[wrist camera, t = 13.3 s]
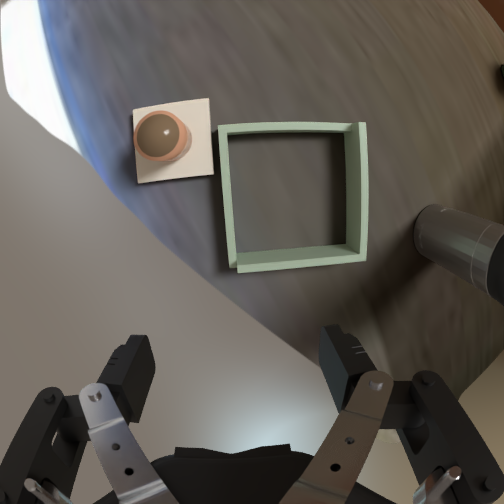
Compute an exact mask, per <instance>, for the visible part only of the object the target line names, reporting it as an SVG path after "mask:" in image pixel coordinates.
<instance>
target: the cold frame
mask: <svg viewBox="0 0 504 504" xmlns="http://www.w3.org/2000/svg"><path fill="white" fill-rule="evenodd" d="M279 132H325V133H344V142H345V162H346V244H338V245H326V246H314V247H302V248H290V249H279V250H267V251H255V252H243V253H236V246H235V234H234V222H233V210H232V197H231V184H230V170H229V156H228V142H227V135H237V134H253V133H279ZM218 134H219V149H220V163H221V176H222V189H223V201H224V213H225V225H226V236H227V247H228V257H229V268H237V270H238V273H246V272H257V271H268V270H279V269H290V268H300V267H310V266H320V265H330V264H340V263H349V262H359V261H366V254H367V234H368V154H367V135H366V123H365V122H357V123H353V124H347V123H327V122H264V123H243V124H229V125H218Z"/></svg>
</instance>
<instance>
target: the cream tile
mask: <svg viewBox="0 0 504 504" xmlns="http://www.w3.org/2000/svg"><path fill="white" fill-rule="evenodd" d="M160 110H162V111H168V112H170V113H172V114H174V115H175V116H176V117H178V118H179V119H180V120H181V121H182V122H183V123H184V124H185V125H186V126H187V127H188V128H189V129H190V131H191V134H192V145H191V148H190V150H189V151H188V153H187V154H186V155H185V156H184V157H182V158H181V159H179V160H176V161H152V160H148V159H146V158H144V157H142V156H141V155H140V154H139V153H138V151H137V150H136V148H135V156H136V168H137V179H138V183H145V182H152V181H159V180H166V179H174V178H183V177H192V176H201V175H211V174H214V163H213V149H212V135H211V119H210V102H209V98H206V99H197V100H188V101H181V102H174V103H168V104H161V105H156V106H150V107H145V108H140V109H135V110H133V123H134V131H135V128H136V126H137V124H138V122H139V121H140V120H141V119H142V118H143V117H144V116H145V115H147V114H149V113H151V112H154V111H160Z"/></svg>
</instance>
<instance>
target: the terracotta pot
mask: <svg viewBox="0 0 504 504" xmlns="http://www.w3.org/2000/svg"><path fill="white" fill-rule="evenodd" d="M133 140H134V145H135V148H136V150H137V151H138V153H139V154H140V155H141V156H142V157H144V158H146V159H148V160H152V161H176V160H179V159H181V158H182V157H184V156H185V155H186V154H187V153H188V151H189V150H190V148H191V145H192V134H191V131H190V129H189V128H188V127H187V126H186V125H185V124H184V123H183V122H182V121H181V120H180V119H179V118H178V117H176V116H175V115H174V114H172V113H170V112H168V111H162V110H160V111H154V112H151V113H149V114H147V115H145V116H144V117H143V118H142V119H141V120H140V121H139V122H138V124H137V126H136V128H135V131H134V136H133Z"/></svg>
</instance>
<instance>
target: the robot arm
mask: <svg viewBox="0 0 504 504" xmlns="http://www.w3.org/2000/svg"><path fill="white" fill-rule="evenodd" d="M414 244H415V246H416V249H417V250H418V252H419V253H420V254H421V255H423V256H425V257H426V258H428V259H430V260H432V261H433V262H435V263H437V264H438V265H440V266H442V267H444V268H445V269H447V270H449V271H450V272H452V273H454V274H455V275H457V276H459V277H460V278H462V279H464V280H465V281H467V282H468V283H470V284H472V285H473V286H475V287H476V288H478V289H480V290H481V291H483V292H485V293H486V294H488V295H489V296H491V297H492V298H494V299H495V300H497V301H498V302H500V303H501V304H502V305H503V306H504V225H501V224H498V223H495V222H492V221H490V220H487V219H484V218H481V217H478V216H474V215H471V214H468V213H465V212H462V211H458V210H455V209H452V208H448V207H445V206H441V205H438V204H433V205H429V206H428V207H426V208H425V209H424V210H423V211H422V212H421V213H420V215H419V216H418V218H417V220H416V223H415V226H414ZM319 363H320V366H321V369H322V371H323V374H324V377H325V379H326V382H327V384H328V387H329V389H330V392H331V395H332V397H333V400H334V402H335V405H336V407H337V410H338V413H339V415H338V417H337V419H336V421H335V423H334V424H333V426H332V428H331V430H330V432H329V433H328V435H327V437H326V439H325V440H324V441H323V443H322V445H321V446H320V448H319V450H318V451H317V453H316V454H315V456H312V455H310V454H306V453H302V452H296V451H291V448H290V444H283V445H274V446H262V447H258V448H255V449H251V450H247V451H243V452H239V453H234V454H229V453H223V452H218V451H213V450H208V449H204V448H182V447H175V453H174V455H168V456H164V457H162V458H159V459H156V460H154V461H153V462H151V463H150V462H149V461H148V459H147V458H146V456H145V455H144V453H143V451H142V450H141V448H140V446H139V445H138V443H137V442H136V440H135V438H134V436H133V434H132V433H131V431H130V429H129V427H128V426H129V423H130V422H134V423H139V420H140V417H141V414H142V410H143V407H144V404H145V401H146V398H147V395H148V392H149V389H150V386H151V383H152V380H153V377H154V374H155V361H154V357H153V353H152V350H151V346H150V342H149V339H148V337H147V335H130V337H129V339H128V341H127V342H126V344H125V345H121V346H119V347H118V348H117V349H116V350H114V352H113V354H112V356H111V357H110V359H109V361H108V363H107V365H106V366H105V368H104V370H103V372H102V373H101V375H100V377H99V379H98V381H97V383H92V384H90V385H87V386H85V387H84V388H83V389H82V390H81V391H80V394H79V395H72V396H64V395H63V393H62V391H61V390H60V389H59V388H56V387H49V388H45V389H43V390H42V391H41V392H40V393H39V394H38V395H37V397H36V398H35V400H34V402H33V404H32V405H31V407H30V409H29V410H28V412H27V414H26V416H25V418H24V419H23V421H22V423H21V425H20V427H19V429H18V431H17V433H16V434H15V436H14V438H13V440H12V442H11V444H10V446H9V448H8V450H7V452H6V454H5V457H4V459H3V461H2V463H1V465H0V504H73V503H72V502H71V500H70V496H71V492H72V489H73V485H74V482H75V478H76V475H77V472H78V468H79V465H80V462H81V459H82V455H83V453H84V449H85V446H86V443H87V441H92V444H93V446H94V449H95V451H96V454H97V456H98V458H99V460H100V463H101V465H102V467H103V469H104V471H105V473H106V475H107V478H108V480H109V482H110V484H111V485H112V488H113V491H111V492H110V493H108V494H107V495H105V496H104V497H102V498H101V499H100V500H98V501H96V502H95V503H93V504H396V503H394V502H392V501H390V500H388V499H386V498H384V497H383V496H381V495H379V494H377V493H375V492H373V491H372V490H370V489H368V488H366V487H364V486H363V485H361V484H359V483H358V482H356V480H357V478H358V476H359V474H360V472H361V470H362V468H363V465H364V463H365V461H366V459H367V457H368V454H369V452H370V450H371V447H372V445H373V443H374V440H375V438H376V435H377V433H378V430H379V429H396V431H397V433H398V436H399V438H400V440H401V442H402V445H403V447H404V449H405V452H406V454H407V456H408V459H409V461H410V464H411V466H412V468H413V471H414V473H415V476H416V478H417V481H418V483H419V487H418V488H417V489H416V491H415V493H414V495H413V504H492V503H493V502H494V501H496V500H497V499H498V498H499V497H500V496H501V495H502V494H503V492H504V474H503V472H502V471H501V469H500V468H499V465H498V464H497V462H496V460H495V458H494V457H493V455H492V453H491V452H490V450H489V449H488V447H487V445H486V443H485V442H484V440H483V439H482V437H481V435H480V434H479V432H478V431H477V429H476V427H475V426H474V424H473V423H472V421H471V420H470V418H469V417H468V415H467V414H466V412H465V411H464V409H463V408H462V407H461V405H460V403H459V402H458V401H457V399H456V398H455V396H454V395H453V393H452V392H451V390H450V389H449V388H448V386H447V385H446V383H445V382H444V381H443V379H442V378H441V377H440V376H439V375H438V374H437V373H435V372H432V371H426V370H425V371H420V372H417V373H416V374H415V375H414V376H413V378H412V381H393V379H392V377H391V376H390V375H388V374H387V373H385V372H382V371H378V370H377V369H376V367H375V366H374V364H373V362H372V361H371V359H370V358H369V356H368V354H367V353H366V352H365V350H364V348H363V347H362V345H361V344H360V342H359V340H358V339H357V338H356V337H354V336H353V335H351V334H350V333H347V334H344V333H343V332H342V330H341V328H340V327H339V325H338V324H336V325H328V326H322V327H321V333H320V344H319ZM56 432H57V436H56V438H55V440H54V443H53V446H52V439H53V437H54V435H55V433H56Z"/></svg>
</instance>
